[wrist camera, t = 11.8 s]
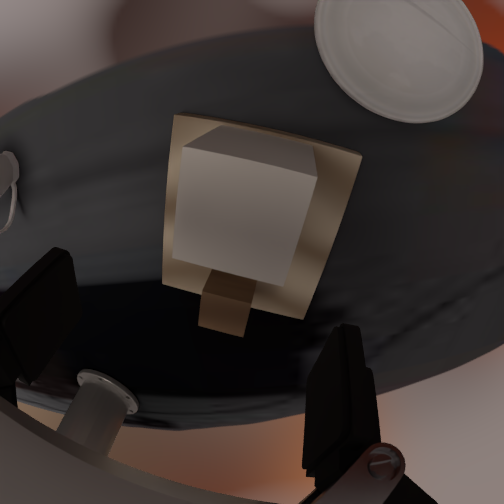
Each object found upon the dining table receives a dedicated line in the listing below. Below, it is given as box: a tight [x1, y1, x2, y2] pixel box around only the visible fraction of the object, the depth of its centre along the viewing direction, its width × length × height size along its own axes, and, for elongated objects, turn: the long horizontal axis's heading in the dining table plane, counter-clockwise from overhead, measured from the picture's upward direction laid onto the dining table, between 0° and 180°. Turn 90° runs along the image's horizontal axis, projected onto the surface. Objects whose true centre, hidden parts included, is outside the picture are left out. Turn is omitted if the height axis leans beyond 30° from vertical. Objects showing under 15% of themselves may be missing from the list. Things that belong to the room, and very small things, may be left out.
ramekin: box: [314, 0, 483, 123], centre depth 15 cm, size 11×11×5 cm
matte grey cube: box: [172, 125, 318, 287], centre depth 19 cm, size 7×7×8 cm
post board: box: [162, 113, 362, 337], centre depth 23 cm, size 16×14×7 cm
